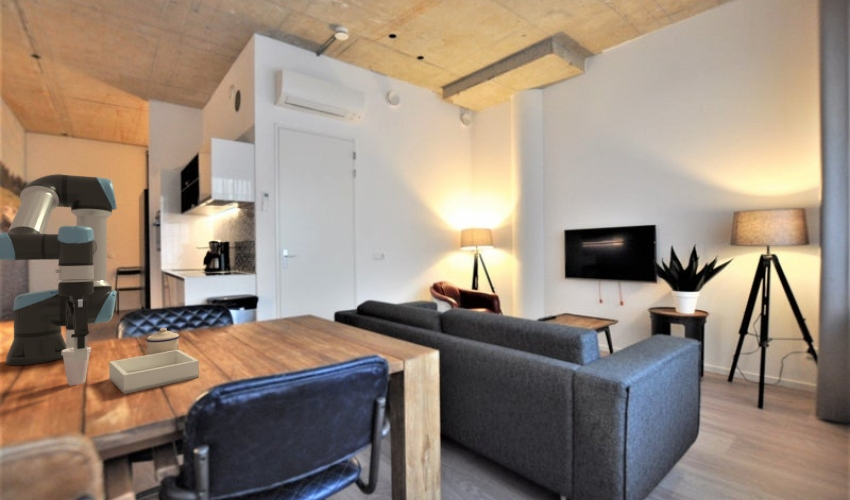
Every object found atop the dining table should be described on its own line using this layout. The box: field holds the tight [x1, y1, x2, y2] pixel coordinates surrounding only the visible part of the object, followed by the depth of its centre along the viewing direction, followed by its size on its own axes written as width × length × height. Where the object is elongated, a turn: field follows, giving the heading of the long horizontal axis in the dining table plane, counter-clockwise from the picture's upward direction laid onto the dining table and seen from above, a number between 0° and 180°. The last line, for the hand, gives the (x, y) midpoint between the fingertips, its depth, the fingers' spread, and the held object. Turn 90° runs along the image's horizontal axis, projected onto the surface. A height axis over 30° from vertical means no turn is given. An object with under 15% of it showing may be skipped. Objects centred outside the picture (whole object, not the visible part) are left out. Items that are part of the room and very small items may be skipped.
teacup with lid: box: [145, 327, 180, 355], centre depth 131 cm, size 12×9×12 cm
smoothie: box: [61, 345, 92, 386], centre depth 111 cm, size 6×6×14 cm
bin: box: [108, 349, 200, 395], centre depth 116 cm, size 18×18×5 cm
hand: (76, 356), depth 111 cm, fingers open, 13 cm apart
